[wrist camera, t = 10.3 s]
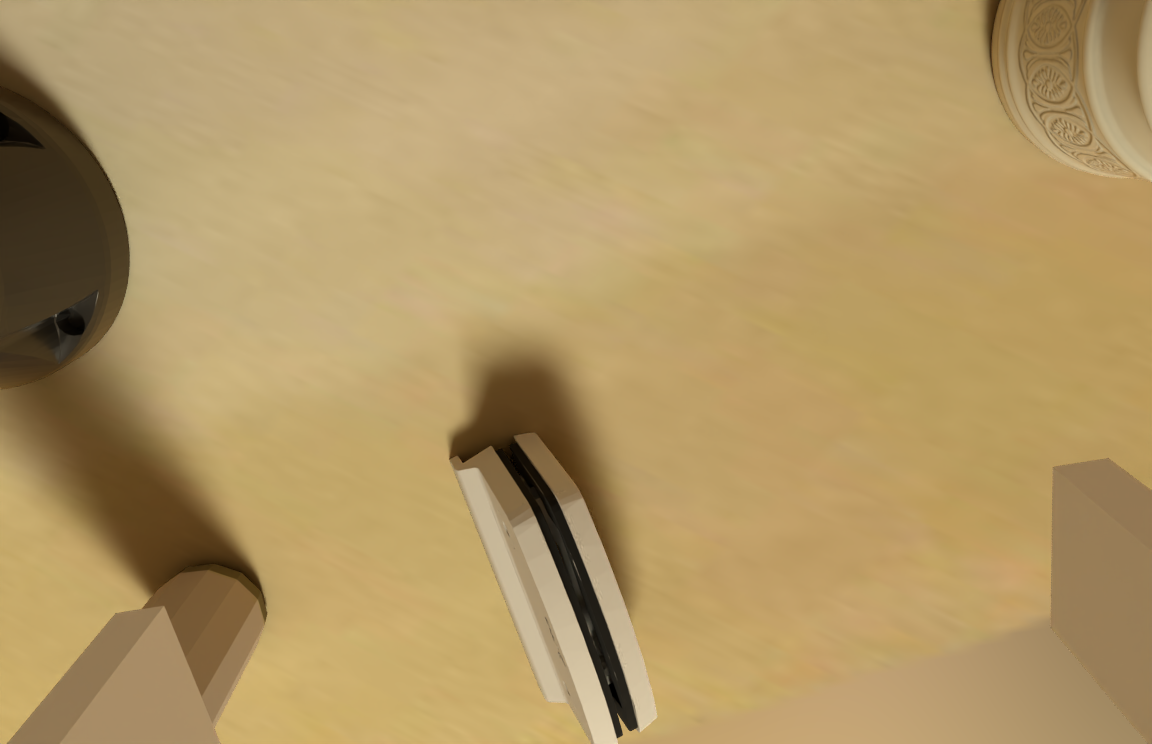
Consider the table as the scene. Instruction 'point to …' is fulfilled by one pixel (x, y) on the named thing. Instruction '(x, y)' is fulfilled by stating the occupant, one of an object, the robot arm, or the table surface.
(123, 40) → the table surface
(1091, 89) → the jar
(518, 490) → the hinge
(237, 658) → the bottle
